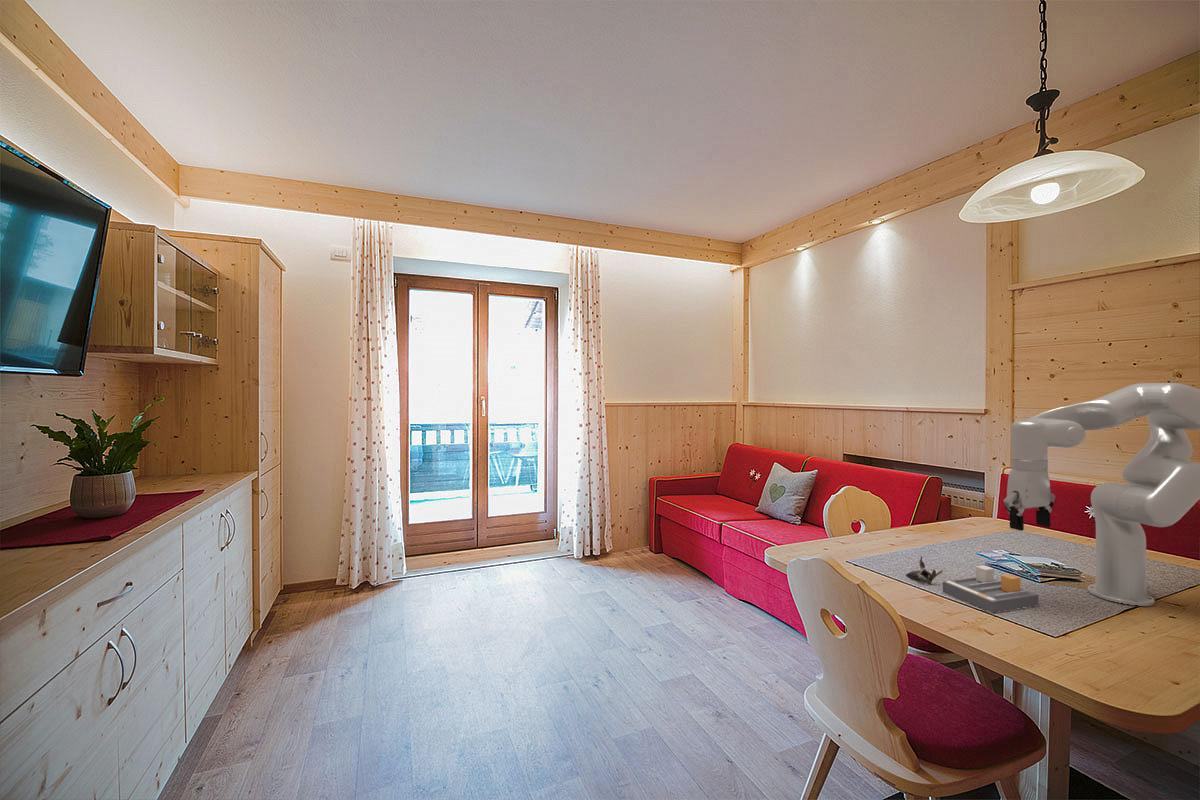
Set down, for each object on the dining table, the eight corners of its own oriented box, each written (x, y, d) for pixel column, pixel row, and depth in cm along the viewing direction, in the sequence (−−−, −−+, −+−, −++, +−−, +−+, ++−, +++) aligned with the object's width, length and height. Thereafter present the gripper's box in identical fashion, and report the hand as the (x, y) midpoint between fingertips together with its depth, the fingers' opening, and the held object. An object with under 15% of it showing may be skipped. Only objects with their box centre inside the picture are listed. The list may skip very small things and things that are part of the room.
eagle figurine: (948, 580, 146) (925, 564, 155) (939, 562, 145) (916, 547, 153) (926, 594, 146) (905, 577, 155) (917, 576, 145) (896, 561, 153)
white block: (984, 578, 141) (983, 565, 141) (993, 582, 139) (993, 568, 139) (975, 580, 141) (975, 566, 141) (985, 583, 138) (985, 569, 138)
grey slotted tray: (986, 585, 144) (986, 573, 144) (1038, 605, 131) (1038, 591, 131) (942, 591, 140) (942, 578, 140) (992, 613, 127) (992, 598, 127)
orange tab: (1009, 588, 135) (1009, 574, 134) (1020, 592, 132) (1020, 577, 132) (1001, 589, 134) (1000, 575, 134) (1011, 593, 131) (1011, 579, 131)
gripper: (1037, 461, 139) (1038, 521, 140) (990, 465, 135) (991, 527, 135) (1068, 465, 132) (1069, 528, 132) (1020, 470, 128) (1021, 534, 128)
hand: (1030, 527), depth 134 cm, fingers open, 9 cm apart
